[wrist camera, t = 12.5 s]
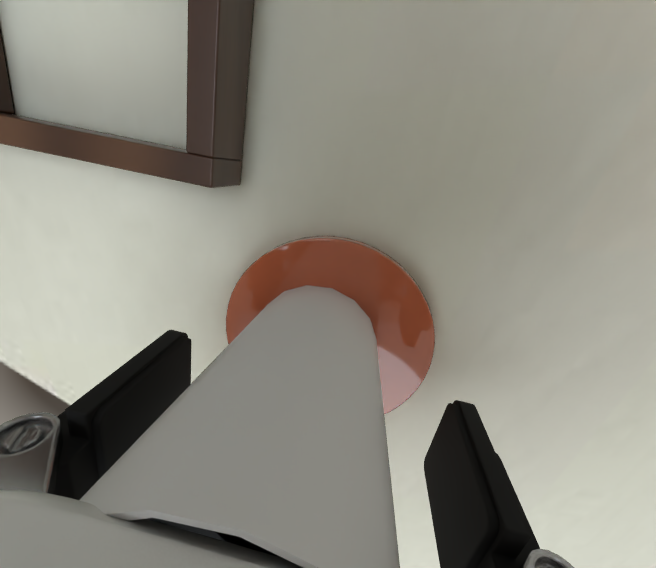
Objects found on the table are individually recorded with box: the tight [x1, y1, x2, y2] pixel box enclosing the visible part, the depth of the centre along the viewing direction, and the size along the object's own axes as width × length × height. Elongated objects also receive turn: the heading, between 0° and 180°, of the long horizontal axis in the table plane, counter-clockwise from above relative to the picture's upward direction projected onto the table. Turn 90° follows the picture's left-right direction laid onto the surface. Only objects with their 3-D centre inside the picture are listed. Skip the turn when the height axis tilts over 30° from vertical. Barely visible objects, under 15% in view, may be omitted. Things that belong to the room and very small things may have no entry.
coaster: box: [226, 236, 435, 414], centre depth 15 cm, size 10×10×1 cm
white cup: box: [80, 285, 400, 568], centre depth 10 cm, size 7×7×10 cm
